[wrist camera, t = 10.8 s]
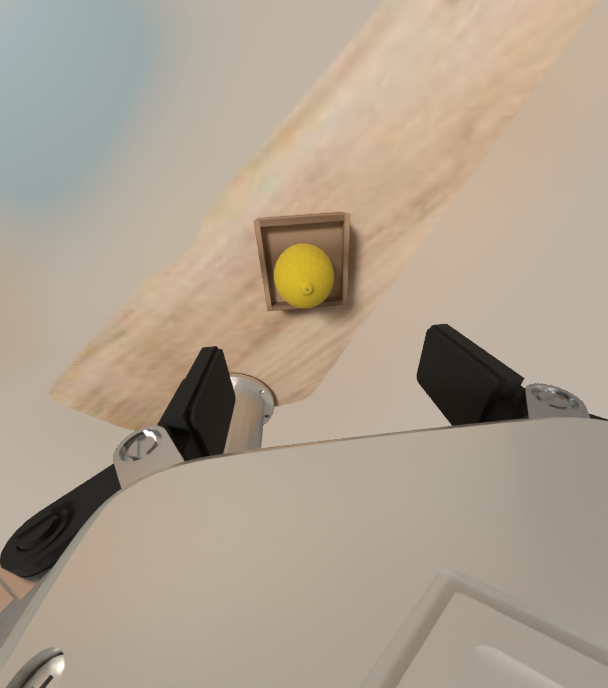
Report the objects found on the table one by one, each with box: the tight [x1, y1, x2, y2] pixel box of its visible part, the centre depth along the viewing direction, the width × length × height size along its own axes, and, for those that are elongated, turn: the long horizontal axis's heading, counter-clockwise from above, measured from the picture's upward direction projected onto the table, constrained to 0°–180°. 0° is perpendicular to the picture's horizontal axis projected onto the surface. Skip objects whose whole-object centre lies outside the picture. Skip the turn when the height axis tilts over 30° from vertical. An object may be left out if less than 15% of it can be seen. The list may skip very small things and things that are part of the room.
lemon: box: [274, 243, 334, 308], centre depth 22 cm, size 6×6×8 cm
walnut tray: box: [254, 212, 350, 311], centre depth 26 cm, size 9×9×4 cm
